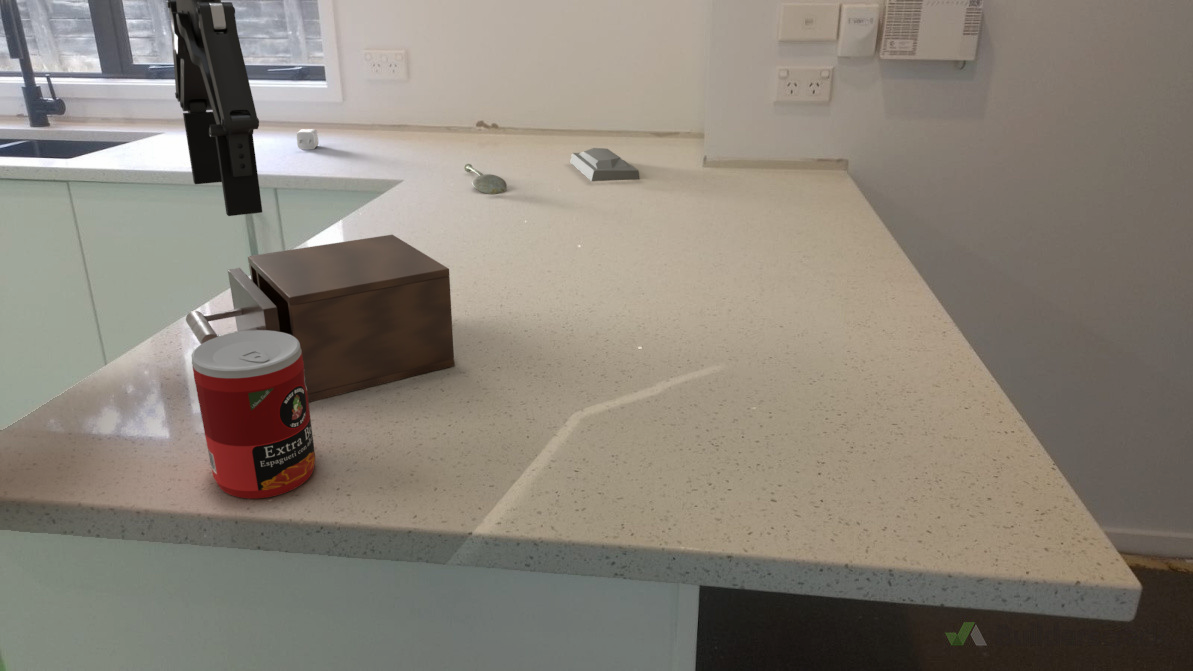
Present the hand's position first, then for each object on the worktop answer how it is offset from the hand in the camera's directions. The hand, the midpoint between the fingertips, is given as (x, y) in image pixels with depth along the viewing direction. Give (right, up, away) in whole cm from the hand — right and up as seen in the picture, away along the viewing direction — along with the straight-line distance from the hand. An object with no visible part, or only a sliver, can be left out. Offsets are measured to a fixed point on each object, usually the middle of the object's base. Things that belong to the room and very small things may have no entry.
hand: (226, 197), depth 75 cm
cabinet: (+8, -15, +13) cm, 21 cm away
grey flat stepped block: (+35, +23, +106) cm, 114 cm away
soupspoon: (+10, +18, +93) cm, 95 cm away
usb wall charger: (-36, +32, +124) cm, 133 cm away
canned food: (+7, -24, -8) cm, 26 cm away
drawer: (+4, -15, +10) cm, 18 cm away
